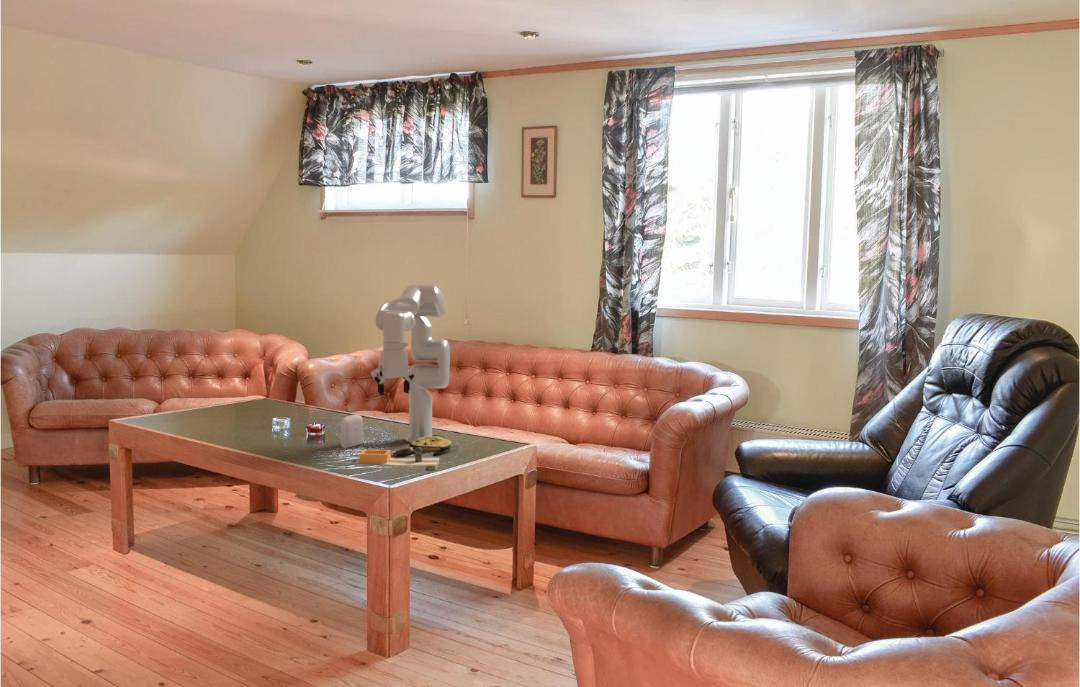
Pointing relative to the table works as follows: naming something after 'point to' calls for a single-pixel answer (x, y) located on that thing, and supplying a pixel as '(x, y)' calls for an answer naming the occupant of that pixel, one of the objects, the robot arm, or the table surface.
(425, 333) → the robot arm
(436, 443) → the pulley block
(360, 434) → the photo printer
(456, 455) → the table surface
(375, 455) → the link
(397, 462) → the keeper board
